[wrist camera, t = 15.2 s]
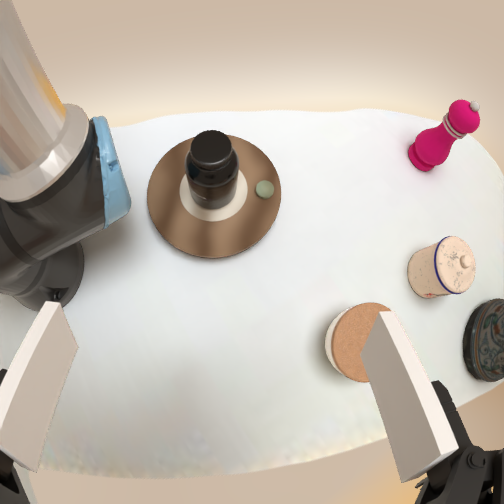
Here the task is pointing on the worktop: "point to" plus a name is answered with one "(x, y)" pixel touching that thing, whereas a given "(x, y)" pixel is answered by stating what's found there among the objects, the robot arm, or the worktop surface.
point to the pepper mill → (444, 135)
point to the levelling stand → (217, 220)
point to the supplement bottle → (212, 169)
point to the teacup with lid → (442, 268)
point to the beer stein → (485, 341)
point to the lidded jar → (351, 339)
